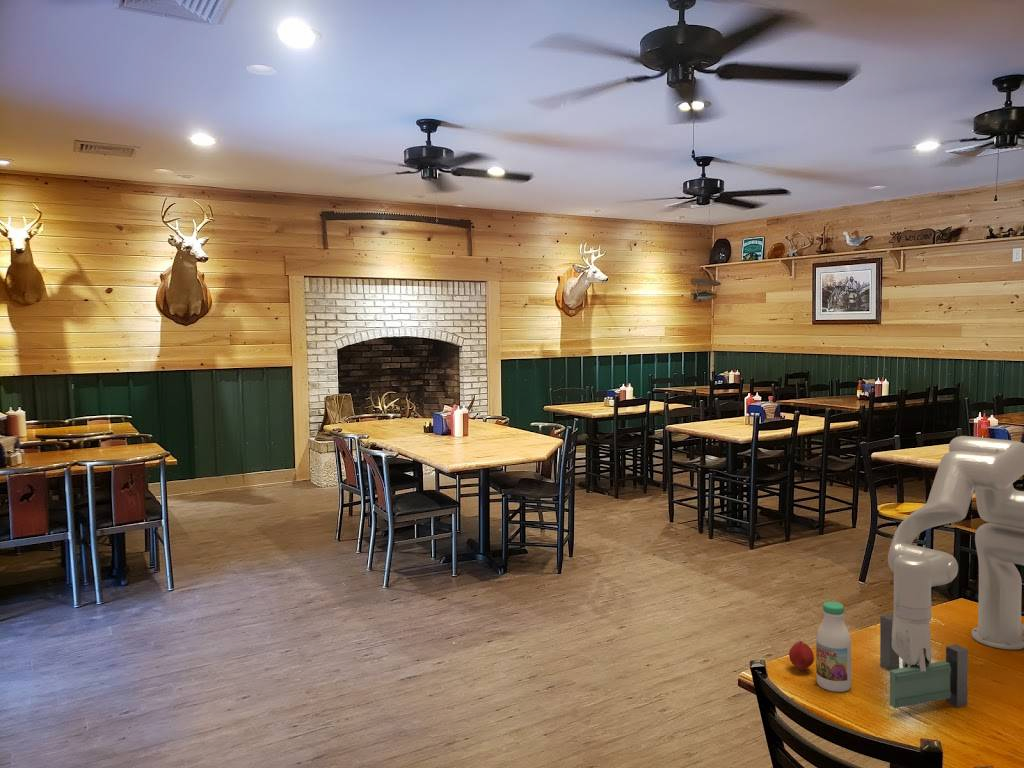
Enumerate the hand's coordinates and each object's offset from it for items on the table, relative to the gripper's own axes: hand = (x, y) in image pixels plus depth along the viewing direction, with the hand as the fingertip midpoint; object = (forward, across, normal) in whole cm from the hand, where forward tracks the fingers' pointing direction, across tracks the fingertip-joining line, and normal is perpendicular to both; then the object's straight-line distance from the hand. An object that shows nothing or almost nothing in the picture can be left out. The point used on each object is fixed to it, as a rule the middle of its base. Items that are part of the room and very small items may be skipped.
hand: (912, 687), depth 169 cm
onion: (+3, -14, -20) cm, 25 cm away
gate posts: (+3, -8, +5) cm, 10 cm away
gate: (+1, +5, 0) cm, 5 cm away
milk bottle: (+3, -7, -15) cm, 17 cm away
